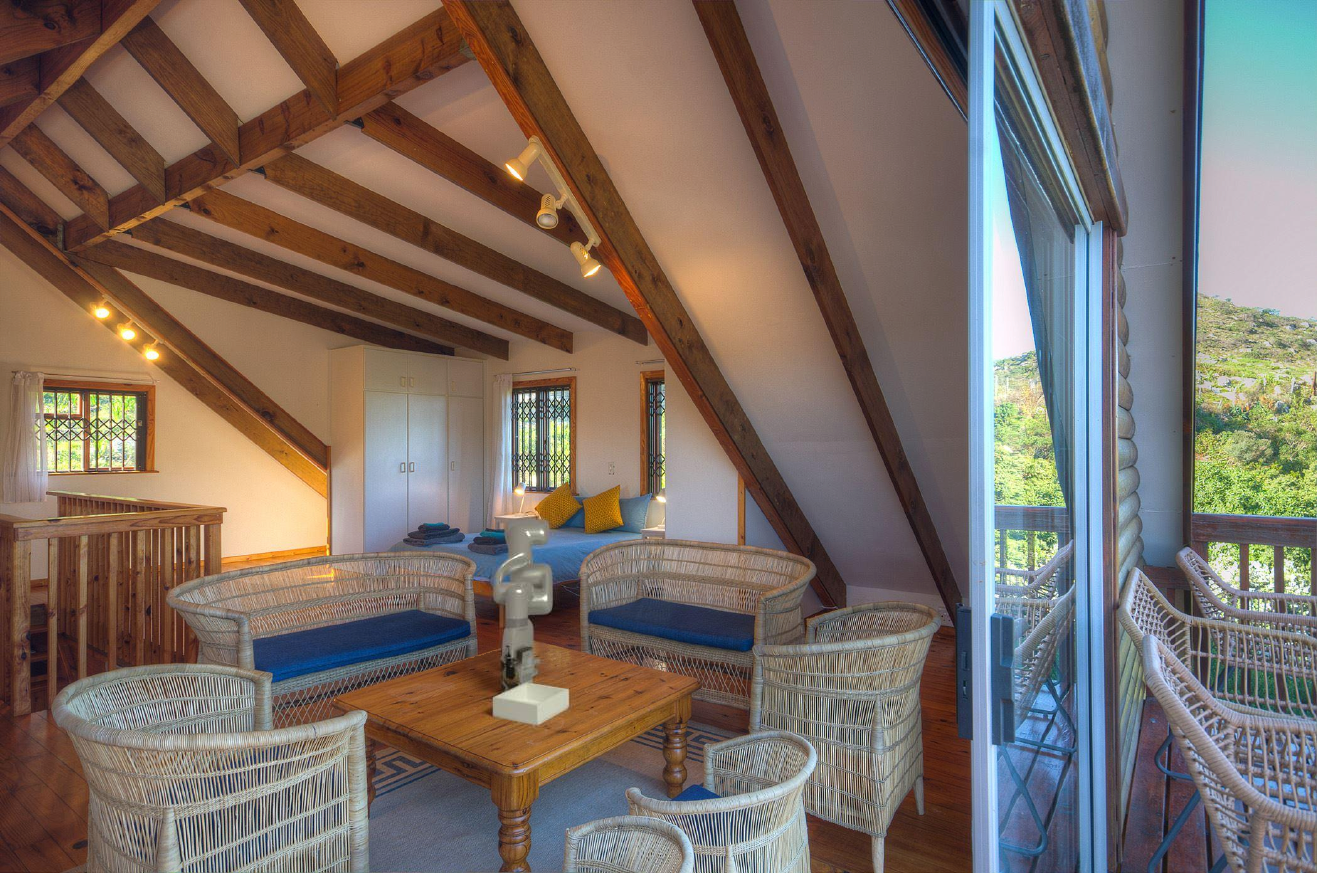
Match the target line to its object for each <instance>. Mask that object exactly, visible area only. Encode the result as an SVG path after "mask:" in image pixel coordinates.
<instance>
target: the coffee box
mask: <svg viewBox="0 0 1317 873" xmlns="http://www.w3.org/2000/svg"><path fill="white" fill-rule="evenodd" d="M500 649H501V651H500V652H501V653H500V654H501V656H502V647H501V648H500ZM533 653H534V646H533V647H525V648H521V649H519V650H517V651H516V658H514V665H513V667H514V668H515V678H514V679H510V678H506V666H505V664H504V663H503V661H502V660H501V659H500V661H501V662H500V663H501V665H500V666H501V670H500V672H501V675H500V676H501V678H500V680H501V682H500V685H501V687H500V689H501V691H500V692H501V693H500V694H502V693H504V692H506V691H508V690H510V689H513V688H515V687H517V686H519V685H521V684H524V683H526V682H527V683H533ZM509 657H511V655H510V654H509ZM509 661H510V662H511V659H509ZM533 684H534V683H533Z"/></svg>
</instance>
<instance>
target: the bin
mask: <svg viewBox="0 0 1317 873" xmlns="http://www.w3.org/2000/svg"><path fill="white" fill-rule="evenodd" d="M569 690H570V689H569V688H563V687H557V686H551V685H544V684H538V683H527V682H526V683H524V684H521V685H519V686H517V687H515V688H513V689H510V690H508V691H506V692H504V693H502V694H501V693H500V694H498V695H496V696H493V697H492V718H497V719H502V720H508V721H512V722H513V721H514V722H517V723H523V724H528V725H533V726H539V725H541V724H543V723H545V722H546V721H548V720H550V719H552V718H553V717H555V716H558V715H559V714H561V713H562V712H565V711H566V710H568V709H569V708H570V706H569V705H570V691H569Z"/></svg>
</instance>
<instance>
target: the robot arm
mask: <svg viewBox="0 0 1317 873" xmlns="http://www.w3.org/2000/svg"><path fill="white" fill-rule="evenodd" d="M550 531H551V530H550V524H549V521H548V520H546V519H543V518H541V519H539V518H538V519H537V518H536V519H514V520H510V521H508V522H506V524H505V525H504V538H505V542H506V546H507V548H508V550H507V551H508V553H507V558H506V559H505V560H504V561H503V562H502V563H501V564H500V565H499V566H498V568H497V570H496V572H495V574H494V577H493V587H492V588H493V590H492V597H493V600H494V602H495V603H496V604H498V605H504V606H505V628H504V630H503V634H502V646H501V648H502V656H501V657H500V661H501V660H502V661H503V663H504V664H505V666H506V678H510V679H514V678H515V668H514V667H513V665H514V658H516V651H517V650H519V649H521V648H525V647H533V648H534V625H533V623H532V621H531V620H530V618H529V616H531V615H532V616H534V615H535V616H536V615H548V614H549V613H551V612H552V609H553V605H554V604H553V600H554V599H553V598H554V596H553V591H554V590H553V586H554V585H553V584H554V583H553V571H552V568H551V566H550V565H549V564H547V563H534V554H533V552H532V546H533V547H534V546H546V545H547V544H548V542H549V538H550ZM509 575H510V576H509ZM507 576H509V581H505V582H504V579H505V578H506V577H507ZM509 654H510V655H511V657H509ZM534 658H535V657H534V652H533V677H535V676H536V677H537V675H538V672H539V670H538V669H537V668H535V667H536V665H538V664H540V663H541V660H540V658H535V659H534ZM509 659H511V662H510V661H509Z"/></svg>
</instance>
